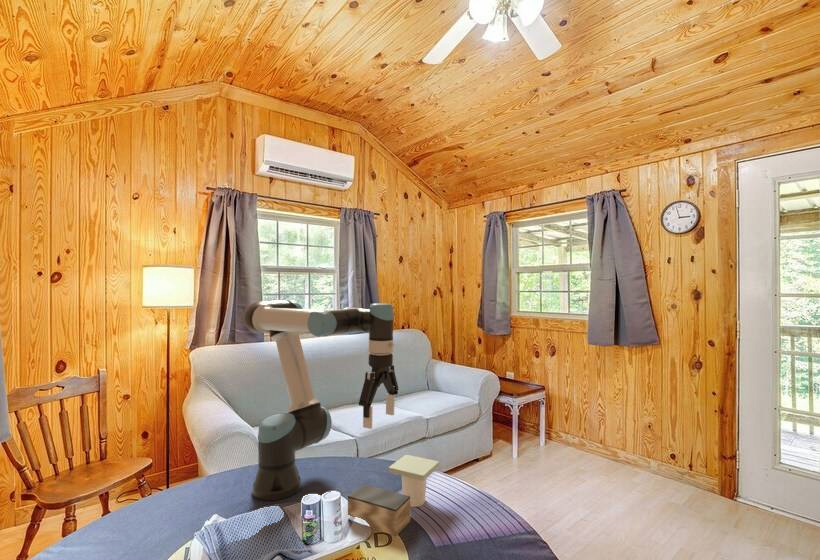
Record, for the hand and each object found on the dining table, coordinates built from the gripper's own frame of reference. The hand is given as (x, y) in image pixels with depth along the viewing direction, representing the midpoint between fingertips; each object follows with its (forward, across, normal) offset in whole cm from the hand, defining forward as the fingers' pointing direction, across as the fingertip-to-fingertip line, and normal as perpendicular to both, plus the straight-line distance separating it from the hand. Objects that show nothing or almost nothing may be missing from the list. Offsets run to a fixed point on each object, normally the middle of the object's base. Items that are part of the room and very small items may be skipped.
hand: (379, 420), depth 130 cm
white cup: (+25, +4, -11) cm, 27 cm away
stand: (+25, -10, -6) cm, 27 cm away
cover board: (+14, +4, -10) cm, 18 cm away
